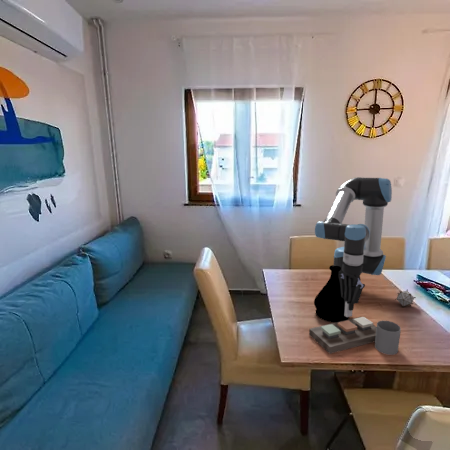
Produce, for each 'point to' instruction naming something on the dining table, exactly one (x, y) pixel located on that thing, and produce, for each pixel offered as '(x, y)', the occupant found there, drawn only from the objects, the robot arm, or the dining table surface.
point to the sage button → (330, 331)
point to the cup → (387, 337)
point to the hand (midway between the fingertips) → (348, 315)
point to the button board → (343, 338)
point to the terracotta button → (347, 327)
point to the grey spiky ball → (405, 298)
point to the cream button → (363, 323)
